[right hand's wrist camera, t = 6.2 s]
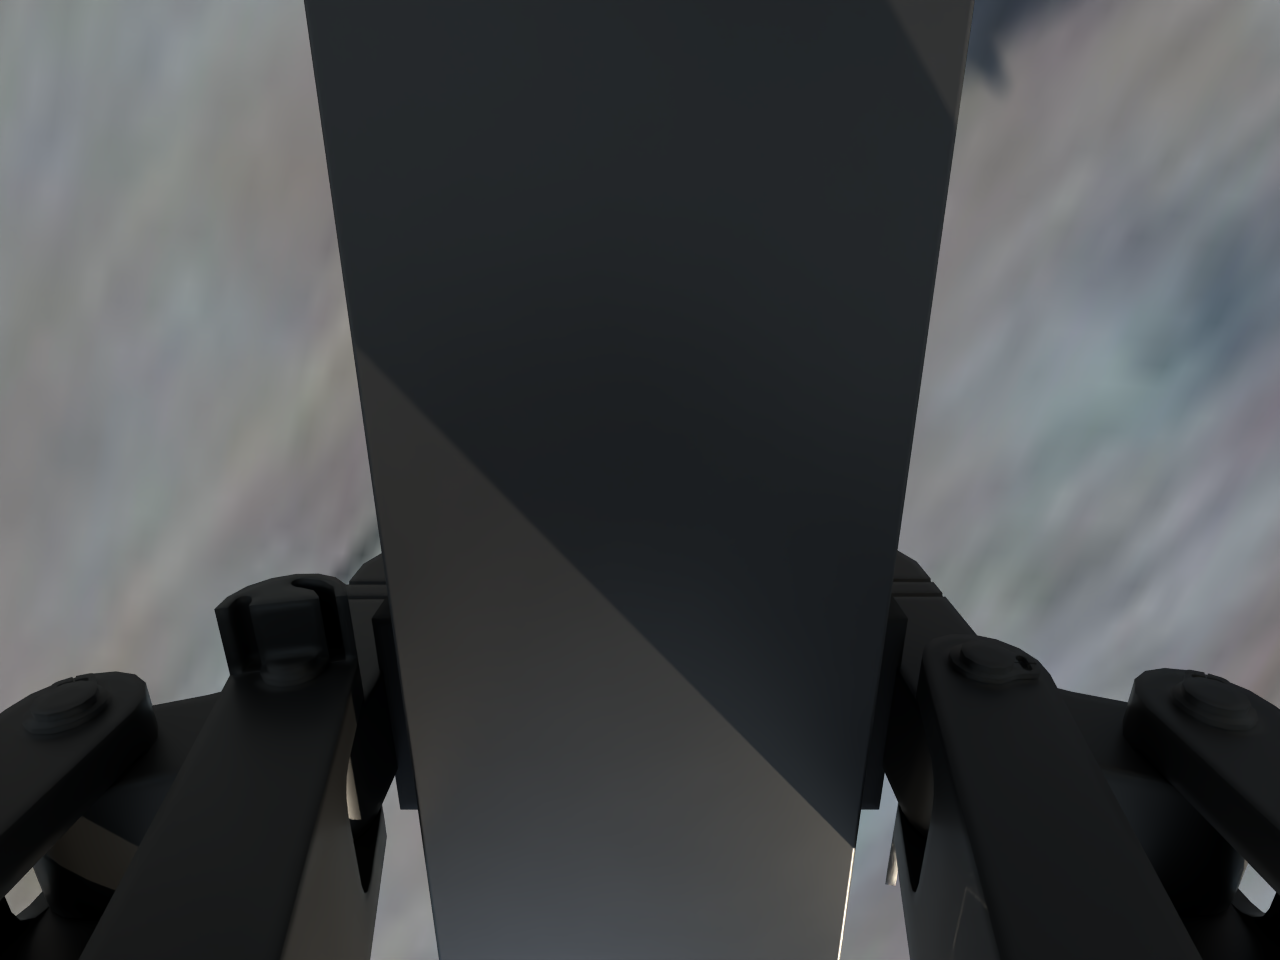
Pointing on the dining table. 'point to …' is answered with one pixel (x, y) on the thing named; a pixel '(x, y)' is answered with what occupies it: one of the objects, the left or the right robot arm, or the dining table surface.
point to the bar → (639, 439)
